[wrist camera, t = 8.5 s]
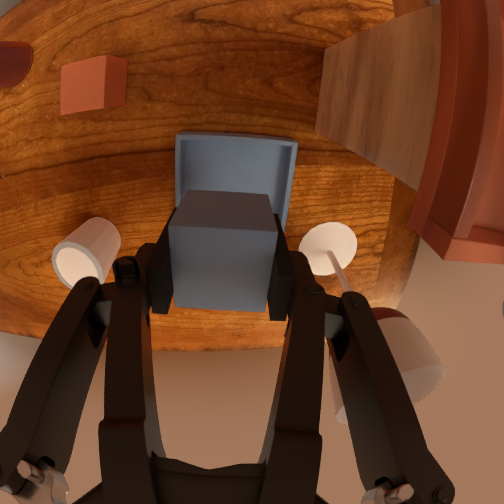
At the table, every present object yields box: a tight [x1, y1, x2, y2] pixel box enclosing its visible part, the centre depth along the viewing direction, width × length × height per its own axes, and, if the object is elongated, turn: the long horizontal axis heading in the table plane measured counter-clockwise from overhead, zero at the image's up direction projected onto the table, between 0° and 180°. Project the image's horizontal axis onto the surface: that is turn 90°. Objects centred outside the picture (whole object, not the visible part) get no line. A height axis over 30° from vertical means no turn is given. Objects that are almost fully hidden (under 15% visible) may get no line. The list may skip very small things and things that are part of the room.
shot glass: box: [52, 217, 121, 290], centre depth 27 cm, size 7×7×7 cm
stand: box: [314, 0, 504, 264], centre depth 14 cm, size 11×11×22 cm
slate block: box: [168, 189, 278, 312], centre depth 16 cm, size 5×5×5 cm
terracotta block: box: [60, 54, 128, 115], centre depth 18 cm, size 5×5×5 cm
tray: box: [175, 131, 298, 232], centre depth 26 cm, size 11×11×2 cm
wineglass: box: [298, 222, 446, 424], centre depth 24 cm, size 8×9×20 cm
